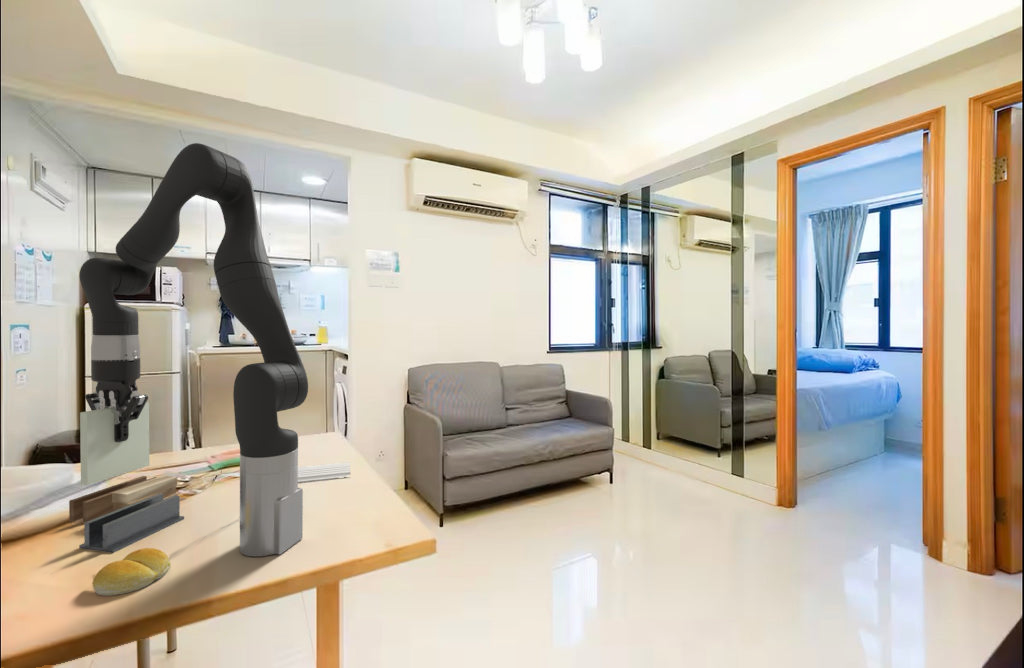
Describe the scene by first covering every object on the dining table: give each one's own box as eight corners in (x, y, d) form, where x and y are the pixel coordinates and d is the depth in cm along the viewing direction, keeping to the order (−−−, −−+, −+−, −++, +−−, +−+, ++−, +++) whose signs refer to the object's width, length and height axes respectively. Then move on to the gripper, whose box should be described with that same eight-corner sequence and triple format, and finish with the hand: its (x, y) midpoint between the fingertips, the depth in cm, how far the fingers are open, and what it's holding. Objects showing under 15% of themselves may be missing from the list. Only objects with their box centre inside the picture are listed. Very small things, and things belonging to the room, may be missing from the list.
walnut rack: (186, 504, 96) (186, 480, 96) (118, 535, 82) (118, 506, 82) (141, 500, 98) (141, 475, 98) (67, 528, 84) (67, 500, 84)
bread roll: (79, 594, 65) (78, 567, 65) (143, 562, 74) (143, 538, 73) (120, 603, 63) (120, 576, 63) (181, 569, 72) (181, 545, 71)
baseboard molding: (350, 481, 113) (349, 467, 124) (350, 470, 113) (349, 457, 124) (208, 497, 102) (221, 480, 113) (208, 484, 102) (221, 468, 113)
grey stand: (184, 526, 86) (184, 496, 86) (113, 561, 73) (112, 526, 73) (154, 522, 87) (154, 493, 87) (79, 556, 74) (79, 522, 74)
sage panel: (149, 465, 96) (148, 402, 96) (87, 485, 84) (86, 412, 84) (143, 465, 96) (142, 401, 96) (80, 484, 85) (80, 412, 84)
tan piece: (178, 501, 94) (178, 476, 94) (128, 522, 84) (128, 494, 84) (162, 499, 95) (161, 475, 95) (111, 520, 85) (111, 492, 85)
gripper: (68, 357, 87) (69, 443, 88) (124, 359, 85) (125, 448, 85) (109, 355, 95) (109, 434, 95) (161, 356, 92) (162, 438, 93)
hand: (117, 440), depth 90 cm, fingers closed on sage panel, 1 cm apart
